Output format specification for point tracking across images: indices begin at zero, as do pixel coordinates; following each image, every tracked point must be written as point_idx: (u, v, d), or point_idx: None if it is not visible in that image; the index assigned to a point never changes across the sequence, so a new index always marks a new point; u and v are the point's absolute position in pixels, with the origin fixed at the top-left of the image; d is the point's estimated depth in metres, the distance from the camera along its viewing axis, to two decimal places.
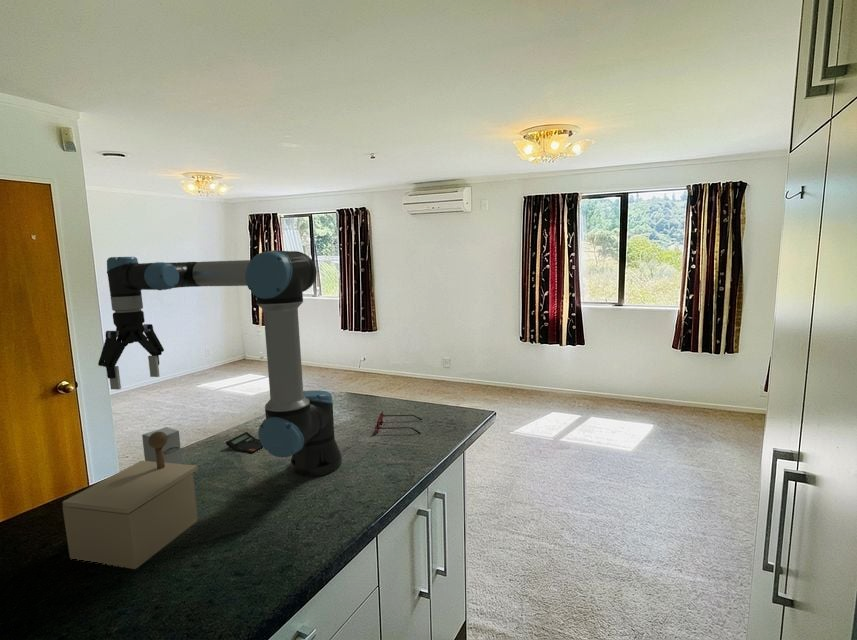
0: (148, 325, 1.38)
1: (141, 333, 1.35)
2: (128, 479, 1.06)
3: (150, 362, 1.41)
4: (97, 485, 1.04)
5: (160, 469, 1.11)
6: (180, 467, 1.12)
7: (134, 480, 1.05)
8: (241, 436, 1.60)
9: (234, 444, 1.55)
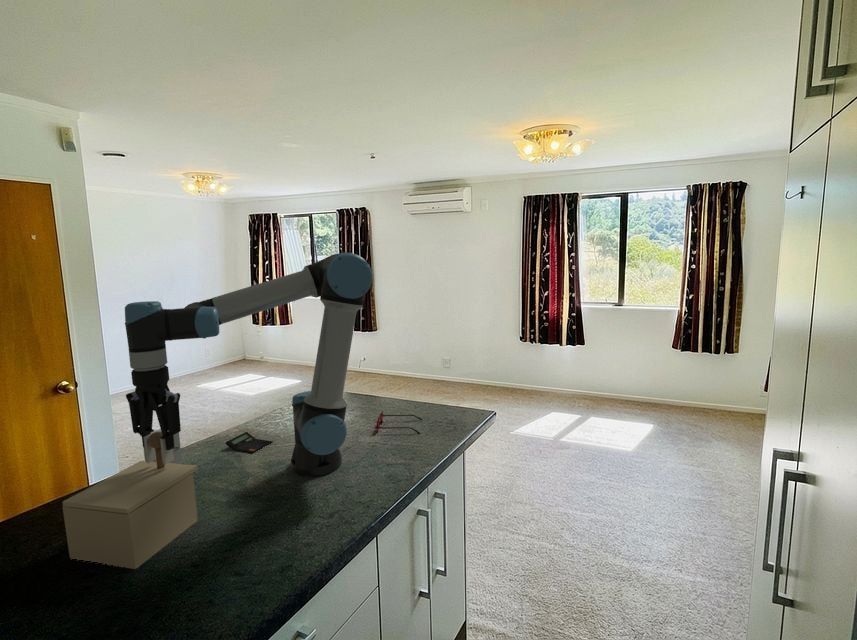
0: (170, 395, 1.07)
1: (151, 399, 1.07)
2: (128, 479, 1.06)
3: None
4: (97, 485, 1.04)
5: (160, 469, 1.11)
6: (180, 467, 1.12)
7: (134, 480, 1.05)
8: (241, 436, 1.60)
9: (234, 444, 1.55)
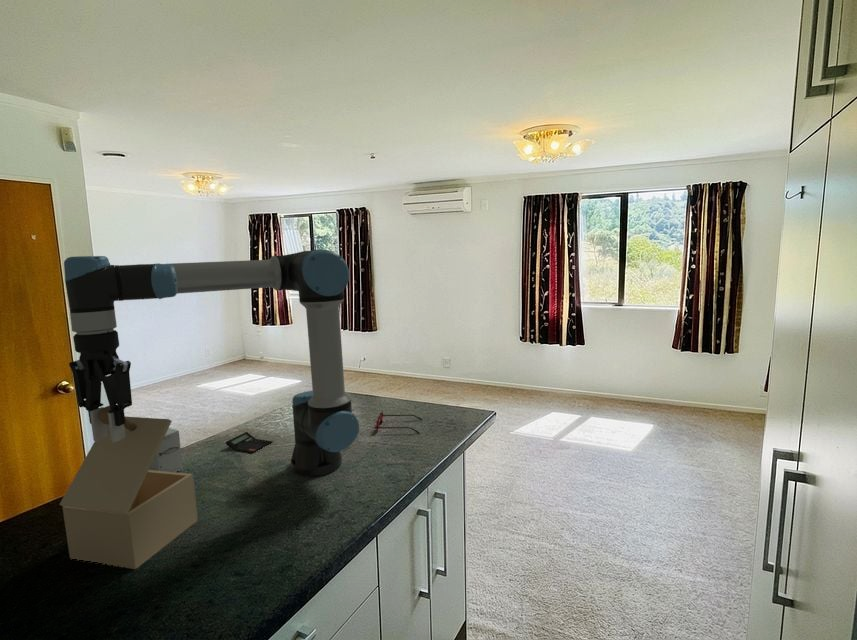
0: None
1: (97, 367, 0.94)
2: (108, 455, 1.01)
3: None
4: (82, 470, 1.00)
5: (133, 432, 1.03)
6: (152, 425, 1.03)
7: (114, 457, 1.00)
8: (241, 436, 1.60)
9: (234, 444, 1.55)
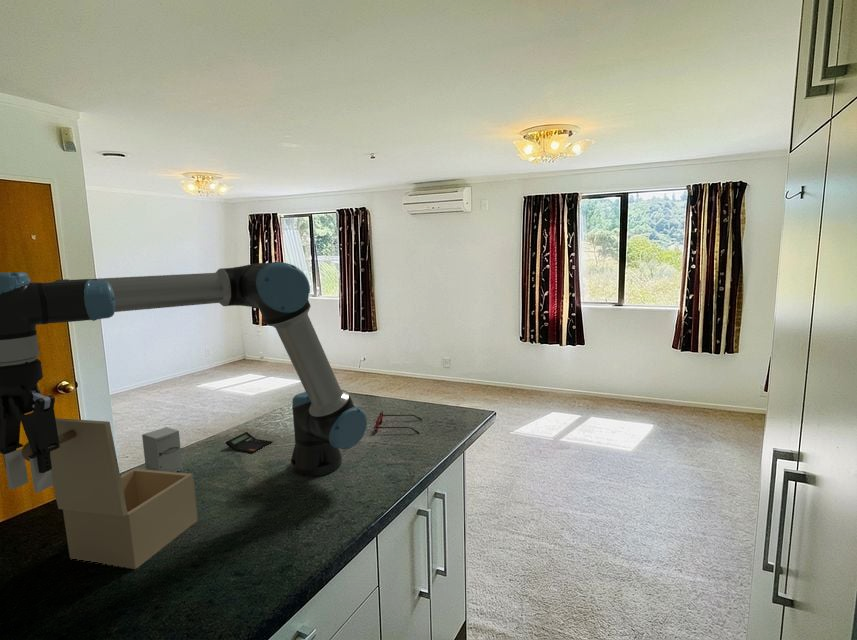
0: None
1: (13, 404, 0.79)
2: (69, 463, 0.93)
3: None
4: (55, 477, 0.94)
5: (77, 438, 0.91)
6: (92, 430, 0.89)
7: (76, 464, 0.92)
8: (241, 436, 1.60)
9: (234, 444, 1.55)
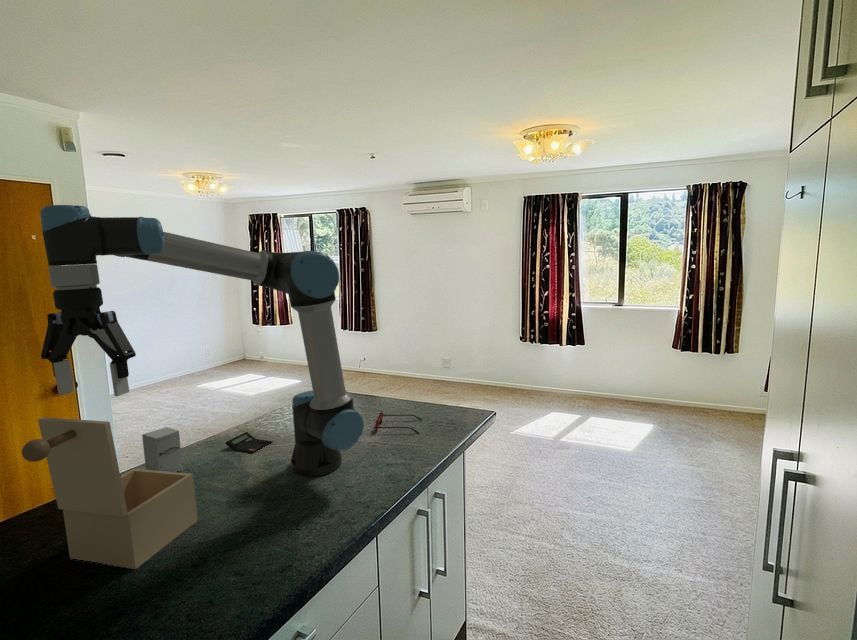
0: None
1: (80, 324, 0.88)
2: (69, 463, 0.93)
3: None
4: (55, 477, 0.94)
5: (77, 438, 0.91)
6: (92, 430, 0.89)
7: (76, 464, 0.92)
8: (241, 436, 1.60)
9: (234, 444, 1.55)
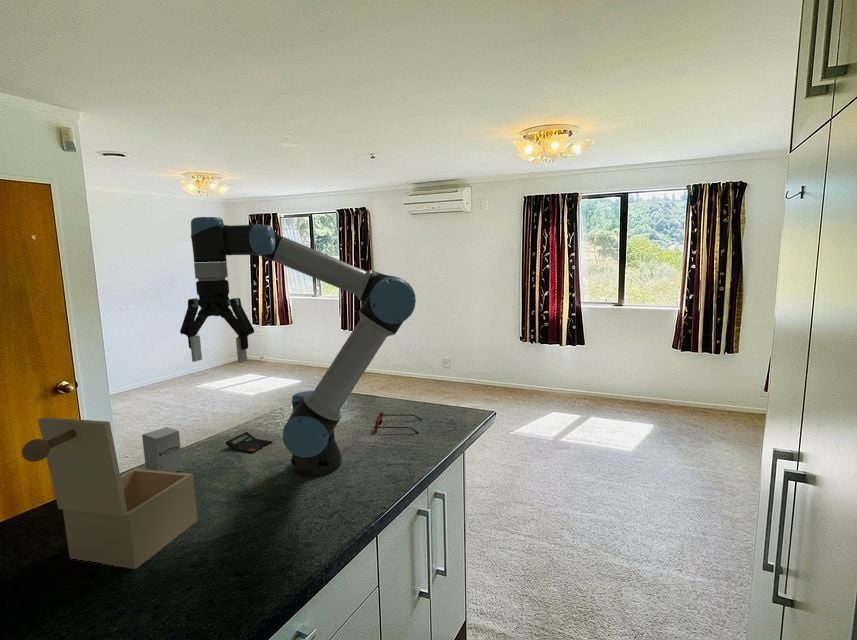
0: None
1: (215, 307, 1.16)
2: (69, 463, 0.93)
3: None
4: (55, 477, 0.94)
5: (77, 438, 0.91)
6: (92, 430, 0.89)
7: (76, 464, 0.92)
8: (241, 436, 1.60)
9: (234, 444, 1.55)
